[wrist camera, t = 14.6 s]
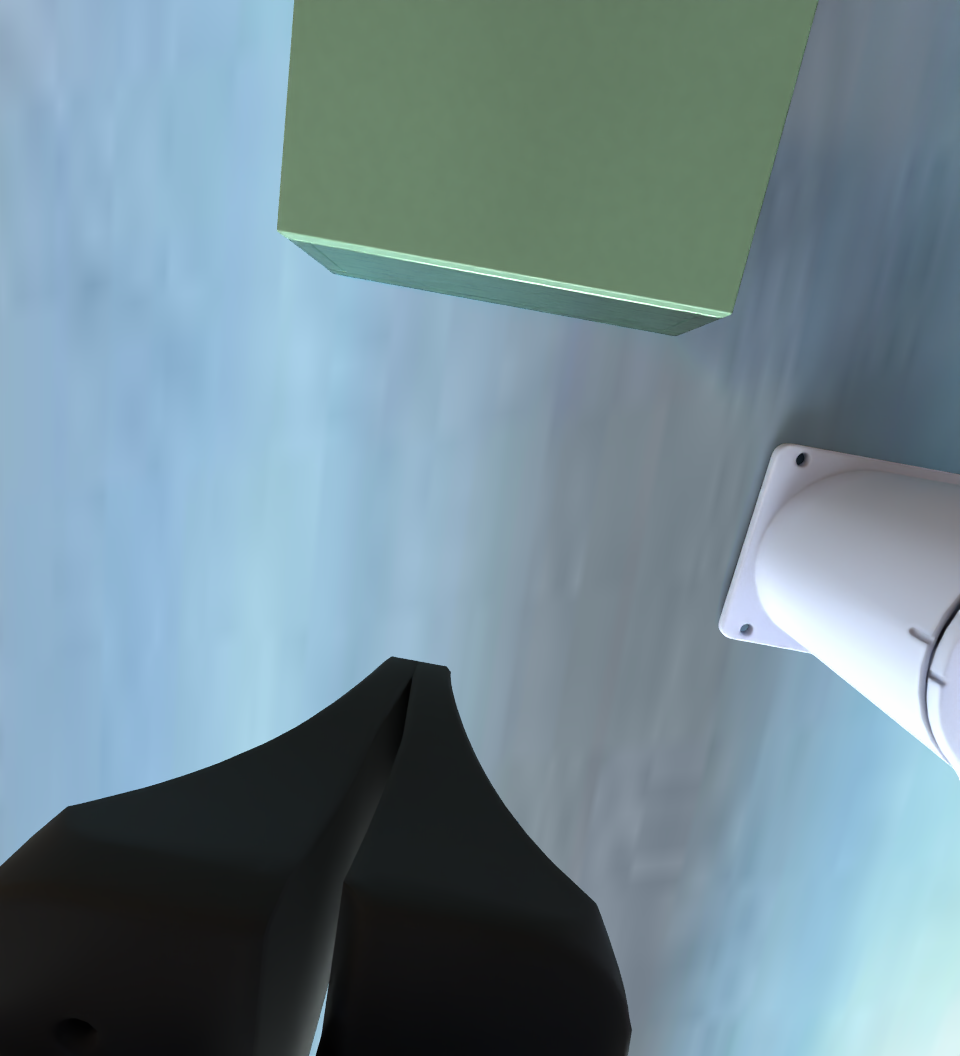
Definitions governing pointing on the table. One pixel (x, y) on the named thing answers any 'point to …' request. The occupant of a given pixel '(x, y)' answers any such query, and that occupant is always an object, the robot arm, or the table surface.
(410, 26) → the lid
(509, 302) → the box
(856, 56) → the table surface
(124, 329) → the table surface
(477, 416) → the table surface
